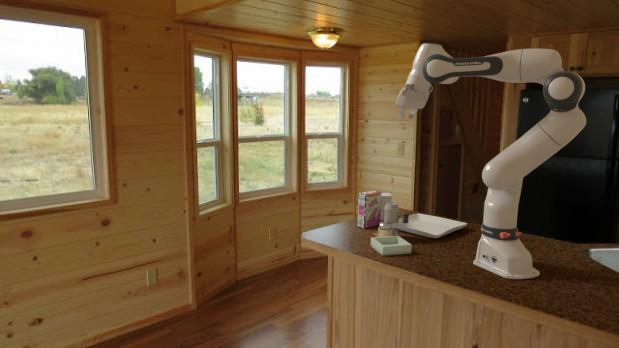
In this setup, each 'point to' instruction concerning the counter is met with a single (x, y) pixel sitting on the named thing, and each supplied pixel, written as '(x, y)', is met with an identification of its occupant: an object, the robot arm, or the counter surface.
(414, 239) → the counter surface
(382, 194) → the supplement box
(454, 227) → the square plate
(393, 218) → the energy drink can
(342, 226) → the counter surface
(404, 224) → the crank lever
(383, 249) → the tray
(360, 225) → the candy bar box
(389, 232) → the crank pedestal
